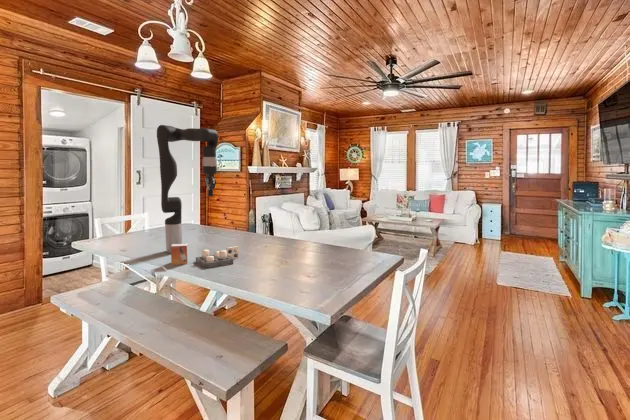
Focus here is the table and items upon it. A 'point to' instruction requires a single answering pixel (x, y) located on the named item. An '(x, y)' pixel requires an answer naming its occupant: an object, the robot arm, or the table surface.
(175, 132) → the robot arm
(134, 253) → the table surface
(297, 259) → the table surface
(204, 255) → the button
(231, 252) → the card
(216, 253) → the button
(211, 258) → the button
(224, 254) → the button
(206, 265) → the board
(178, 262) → the small box
